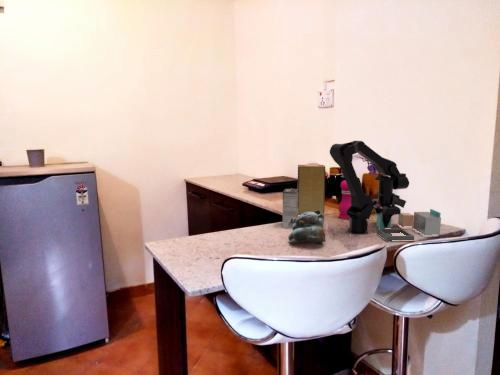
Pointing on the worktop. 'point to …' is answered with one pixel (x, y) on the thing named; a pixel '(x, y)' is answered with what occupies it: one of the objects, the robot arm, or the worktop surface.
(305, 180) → the food packaging
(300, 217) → the grey-green lumpy figure
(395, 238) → the parts tray
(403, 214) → the terracotta block
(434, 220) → the panel
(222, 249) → the worktop surface
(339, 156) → the robot arm
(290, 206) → the coffee box
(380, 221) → the teal block
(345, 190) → the pepper mill
